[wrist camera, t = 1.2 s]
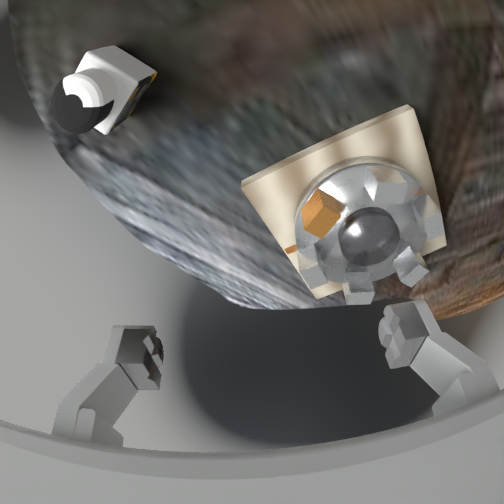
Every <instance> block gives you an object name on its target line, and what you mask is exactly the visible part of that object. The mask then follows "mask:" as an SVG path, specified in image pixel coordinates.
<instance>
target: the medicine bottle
mask: <svg viewBox="0 0 504 504" xmlns="http://www.w3.org/2000/svg"><path fill="white" fill-rule="evenodd" d="M156 75H157V72H156V71H155V70H154V69H152V68H150V67H149V66H147V65H146V64H144V63H143V62H141V61H139V60H138V59H136V58H135V57H133V56H131V55H130V54H128V53H127V52H125V51H123V50H122V49H120V48H118V47H117V46H109V47H104V48H100V49H96V50H91V51H88V52H86V54H85V55H84V57H83V59H82V61H81V63H80V65H79V66H78V68H77V70H76V72H75V73H74V74H72V75H69V76H67V77H65V78H63V79H62V80H61V81H60V82H59V83H58V84H57V86H56V87H55V89H54V91H53V94H52V98H51V109H52V114H53V116H54V118H55V120H56V122H57V123H58V125H59V126H60V127H61V128H63V129H64V130H66V131H68V132H70V133H74V134H81V133H85V132H88V131H90V130H91V129H92V128H96V129H97V130H99V131H100V132H102V133H103V134H105V135H106V134H108V133H109V132H111V131H112V130H113V129H114V128H115V127H117V126H118V125H119V124H120V123H122V122H123V121H124V120H125V119H127V118H128V117H129V116H130V114H131V113H132V111H133V110H134V108H135V106H136V105H137V103H138V102H139V100H140V99H141V97H142V96H143V94H144V93H145V91H146V90H147V88H148V87H149V85H150V84H151V82H152V81H153V79H154V78H155V77H156Z"/></svg>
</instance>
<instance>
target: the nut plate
mask: <svg viewBox="0 0 504 504" xmlns="http://www.w3.org/2000/svg"><path fill="white" fill-rule="evenodd" d="M362 156H374V157H381V158H385V159H388V160H391V161H393V162H395V163H398V164H399V165H401V166H402V167H404V168H405V169H406V170H407V171H408V172H409V173H410V174H411V175H412V176H413V177H414V178H415V179H416V181H417V182H418V183H419V184H420V186H421V187H422V188H423V190H424V191H425V193H426V195H429V197H430V198H431V199H432V201H433V202H434V203H435V205H436V206H437V207H438V209H439V210H440V211H441V209H440V204H439V199H438V194H437V190H436V185H435V181H434V177H433V173H432V169H431V165H430V161H429V157H428V154H427V150H426V146H425V143H424V140H423V136H422V133H421V130H420V126H419V123H418V120H417V117H416V114H415V111H414V108H412V107H410V106H409V105H404V106H402V107H399V108H397V109H394V110H392V111H389V112H387V113H385V114H382V115H380V116H378V117H375V118H373V119H371V120H368V121H366V122H364V123H361V124H359V125H357V126H354V127H352V128H350V129H348V130H345V131H343V132H341V133H339V134H337V135H334V136H332V137H330V138H328V139H326V140H324V141H321V142H319V143H317V144H315V145H313V146H311V147H309V148H307V149H304V150H302V151H300V152H298V153H296V154H294V155H292V156H290V157H288V158H286V159H284V160H282V161H280V162H278V163H276V164H274V165H272V166H270V167H268V168H266V169H264V170H262V171H260V172H258V173H256V174H254V175H252V176H250V177H248V178H246V179H244V180H242V182H241V189H242V191H243V192H244V193H245V195H246V196H247V198H248V199H249V201H250V202H251V203H252V205H253V206H254V208H255V209H256V211H257V212H258V214H259V215H260V216H261V218H262V219H263V221H264V222H265V224H266V225H267V227H268V228H269V230H270V231H271V232H272V234H273V235H274V237H275V238H276V240H277V241H278V243H279V244H280V246H281V247H282V249H283V250H284V252H285V253H286V255H287V256H288V257H289V259H290V260H291V262H292V263H293V265H294V266H295V268H296V269H297V271H298V272H299V265H298V257H297V251H298V249H297V245H296V239H295V231H294V213H295V209H296V205H297V202H298V200H299V198H300V196H301V194H302V193H303V191H304V189H305V188H306V187H307V185H308V184H309V183H310V182H311V181H312V180H313V179H314V178H315V177H316V176H317V175H318V174H319V173H321V172H322V171H324V170H325V169H326V168H328V167H330V166H332V165H334V164H336V163H338V162H341V161H343V160H346V159H350V158H354V157H362ZM441 215H442V214H441ZM442 221H443V220H442ZM443 226H444V225H443ZM444 232H445V231H444ZM446 245H447V244H446V238H445V234H442V235H440V236H438V237H436V238H434V239H431V240H429V241H428V240H427V238H426V240H425V242H424V244H423V246H422V248H421V249H420V250H419V252H420V254H421V256H424V255H426V254H429V253H431V252H433V251H435V250H437V249H440V248H442V247H444V246H446ZM299 274H300V272H299ZM300 275H301V274H300ZM301 277H302V275H301ZM302 278H303V277H302ZM303 280H304V278H303ZM304 281H305V280H304ZM328 282H329V283H327V284H324V285H322V286H319V287H316V288H314V289H310V288H309V289H310V290H311V292H312V293H313V295H314V296H315V298H316V299H319V298H322V297H324V296H327V295H329V294H332V293H335V292H337V291H340V290H342V289H343V286H342V283H337V282H333V281H330V280H328ZM305 283H306V281H305ZM306 284H307V283H306ZM307 286H308V285H307ZM308 287H309V286H308Z"/></svg>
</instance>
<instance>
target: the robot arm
mask: <svg viewBox="0 0 504 504" xmlns="http://www.w3.org/2000/svg"><path fill="white" fill-rule="evenodd" d="M384 314H385V317H384V318H383V319H382V320H381V321H380V324H379V338H380V341H381V344H382V345H383V346H384V347H385V348H387V351H386V354H385V355H386V358H387V361H388V364H389V367H390V369H393V368H398V367H403V366H408V365H410V367H411V368H412V369H413V370H414V371H415V372H416V373H417V374H418V375H419V376H420V377H421V378H422V379H424V380H425V381H426V382H427V383H428V384H429V385H430V386H431V387H432V388H433V389H434V390H435V391H436V392H437V393H438V394H439V395H440V396H441V397H440V398H439V399H438V400H437V401H436V402H435V403H434V405H433V406H432V410H433V413H434V417H431V418H428V419H425V420H422V421H419V422H416V423H412V424H408V425H405V426H401V427H398V428H394V429H390V430H386V431H382V432H378V433H374V434H369V435H365V436H360V437H355V438H350V439H345V440H340V441H334V442H328V443H322V444H315V445H309V446H301V447H293V448H283V449H272V450H260V451H242V452H175V451H158V450H146V449H135V448H126V447H122V446H123V437H122V435H121V434H120V433H119V432H118V431H116V430H115V429H114V428H113V427H112V426H113V425H114V424H115V422H116V421H117V419H118V418H119V417H120V415H121V414H122V413H123V411H124V410H125V408H126V407H127V406H128V404H129V403H130V402H131V400H132V399H133V397H134V396H135V395H136V393H137V392H138V390H160V382H161V373H160V371H159V367H160V366H161V365H162V364H163V358H164V354H163V346H162V342H161V340H160V339H159V338H157V337H156V333H157V331H156V329H155V327H154V326H120V325H114V326H113V327H112V329H111V331H110V334H109V338H108V341H107V345H106V348H105V353H104V356H103V360H102V363H98V364H97V365H96V366H95V367H94V368H93V369H92V370H91V371H90V372H89V373H88V374H87V375H86V376H85V377H84V378H83V379H82V380H81V381H80V382H79V383H78V384H77V385H76V386H75V387H74V388H73V389H72V390H71V391H70V392H69V393H68V395H67V396H66V397H65V398H64V399H63V400H62V401H61V402H60V403H59V405H58V409H57V413H56V417H55V421H54V426H53V430H52V434H47V433H44V432H40V431H36V430H32V429H28V428H25V427H21V426H18V425H15V424H11V423H8V422H5V421H2V420H0V504H504V389H503V390H501V391H500V389H499V387H498V384H497V382H496V380H495V378H494V376H493V373H492V371H491V369H490V367H489V365H488V363H487V362H485V361H484V360H483V359H481V358H480V357H478V356H477V355H476V354H474V353H473V352H471V351H470V350H469V349H468V348H466V347H465V346H463V345H462V344H461V343H459V342H458V341H457V340H455V339H454V338H452V337H451V336H450V335H448V334H447V333H445V332H444V333H442V332H441V330H440V328H439V326H438V324H437V322H436V320H435V318H434V316H433V314H432V313H431V311H430V309H429V307H428V305H427V303H426V302H425V301H424V300H419V301H413V302H405V303H399V304H393V305H387V306H386V307H385V310H384Z"/></svg>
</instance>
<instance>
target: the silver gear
mask: <svg viewBox="0 0 504 504" xmlns="http://www.w3.org/2000/svg"><path fill="white" fill-rule="evenodd" d="M294 231H295V239H296V245H297V249H298V251H297V257H298V265H299V272H300V274H301V275H302V277H303V278H304V280H305V281H306V283H307V285H308V286H309V288H310V289H314V288H316V287H319V286H322V285H324V284H327V283H329V282H328V280H330V281H333V282H337V283H342V286H343V291H344V295H345V299H346V303H347V305H357V304H371V302H372V299H373V296H374V294H375V290H374V287H373V284H372V282H373V281H376V280H379V279H382V278H385V277H387V276H389V275H391V274H393V273H395V272H396V271H397V274H398V276H399V279H400V281H401V282H402V283H404V284H406V285H408V286H410V287H412V286H413V285H415V284H416V283H417V282H418V281H419V280H420V279H421V278H422V277H423V276H424V275H425V274H426V273H428V272H429V270H428V268H427V266H426V264H425V262H424V260H423V258H422V256H421V254H420V252H419V250H420V249H421V248H422V246H423V244H424V242H425V240H426V238H427V240H428V241H429V240H431V239H434V238H436V237H438V236H440V235H442V234H445V232H444V226H443V221H442V215H441V211H440V210H439V209H438V207H437V206H436V205H435V203H434V202H433V201H432V199H431V198H430V197H429V195H426V193H425V191H424V190H423V188H422V187H421V186H420V184H419V183H418V182H417V181H416V179H415V178H414V177H413V176H412V175H411V174H410V173H409V172H408V171H407V170H406V169H405V168H404V167H402V166H401V165H399V164H398V163H395V162H393V161H391V160H388V159H385V158H381V157H374V156H362V157H354V158H350V159H346V160H343V161H341V162H338V163H336V164H334V165H332V166H330V167H328V168H326V169H325V170H324V171H322V172H321V173H319V174H318V175H317V176H316V177H315V178H314V179H313V180H312V181H311V182H310V183H309V184H308V185H307V187H306V188H305V189H304V191H303V193H302V194H301V196H300V198H299V200H298V202H297V205H296V209H295V213H294Z"/></svg>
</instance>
